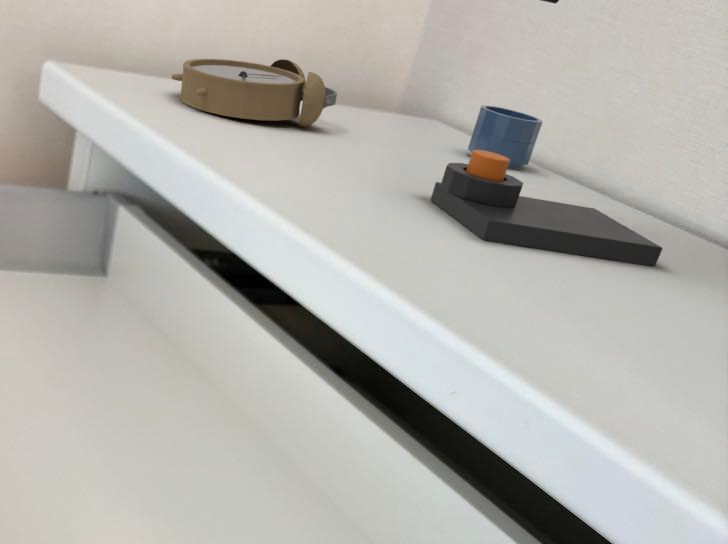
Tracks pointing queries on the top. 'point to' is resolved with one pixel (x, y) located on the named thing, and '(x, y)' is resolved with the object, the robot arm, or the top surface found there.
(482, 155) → the button
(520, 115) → the cup
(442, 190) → the scale
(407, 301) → the top surface
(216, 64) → the alarm clock
